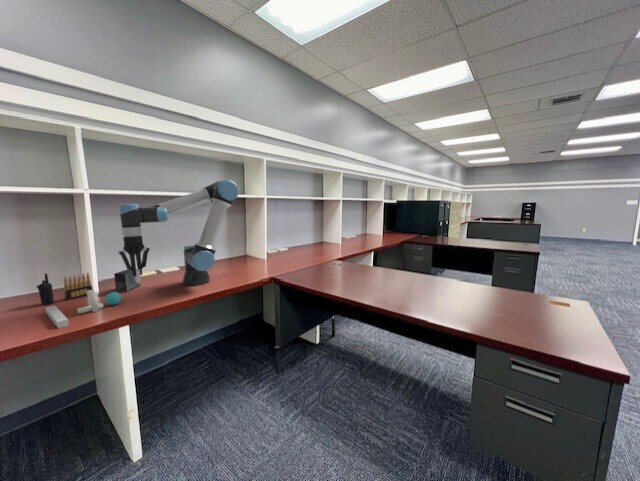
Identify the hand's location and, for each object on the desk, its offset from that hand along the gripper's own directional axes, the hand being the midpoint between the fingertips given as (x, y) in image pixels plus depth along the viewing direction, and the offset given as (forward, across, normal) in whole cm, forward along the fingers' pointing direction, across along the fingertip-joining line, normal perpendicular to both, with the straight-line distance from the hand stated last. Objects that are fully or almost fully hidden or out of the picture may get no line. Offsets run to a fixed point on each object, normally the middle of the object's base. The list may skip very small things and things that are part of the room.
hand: (138, 282), depth 131 cm
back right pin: (+8, +18, -3) cm, 20 cm away
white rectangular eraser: (+8, +30, 0) cm, 31 cm away
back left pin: (+8, +18, +2) cm, 20 cm away
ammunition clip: (+8, +18, -27) cm, 34 cm away
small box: (+9, -2, -23) cm, 25 cm away
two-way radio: (+8, +30, -27) cm, 41 cm away
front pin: (+7, +15, 0) cm, 17 cm away
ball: (+5, +11, -1) cm, 12 cm away
